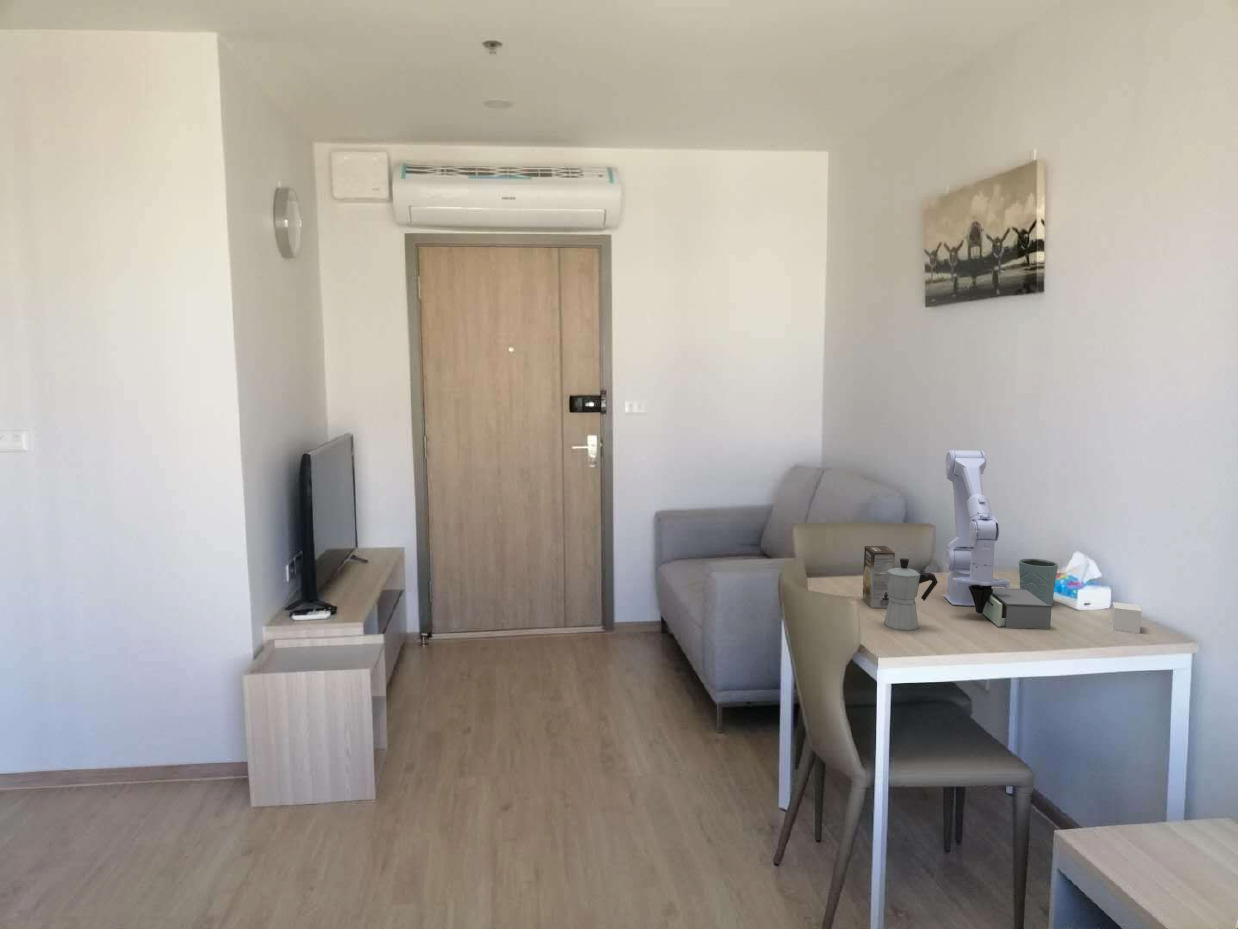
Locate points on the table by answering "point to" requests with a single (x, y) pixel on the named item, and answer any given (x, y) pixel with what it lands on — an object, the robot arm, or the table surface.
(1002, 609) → the walnut block
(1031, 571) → the green plant pot
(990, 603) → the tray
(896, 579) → the coffee maker
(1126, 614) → the beige cube
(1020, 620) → the grey drawer box
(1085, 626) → the table surface
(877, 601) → the coffee box
